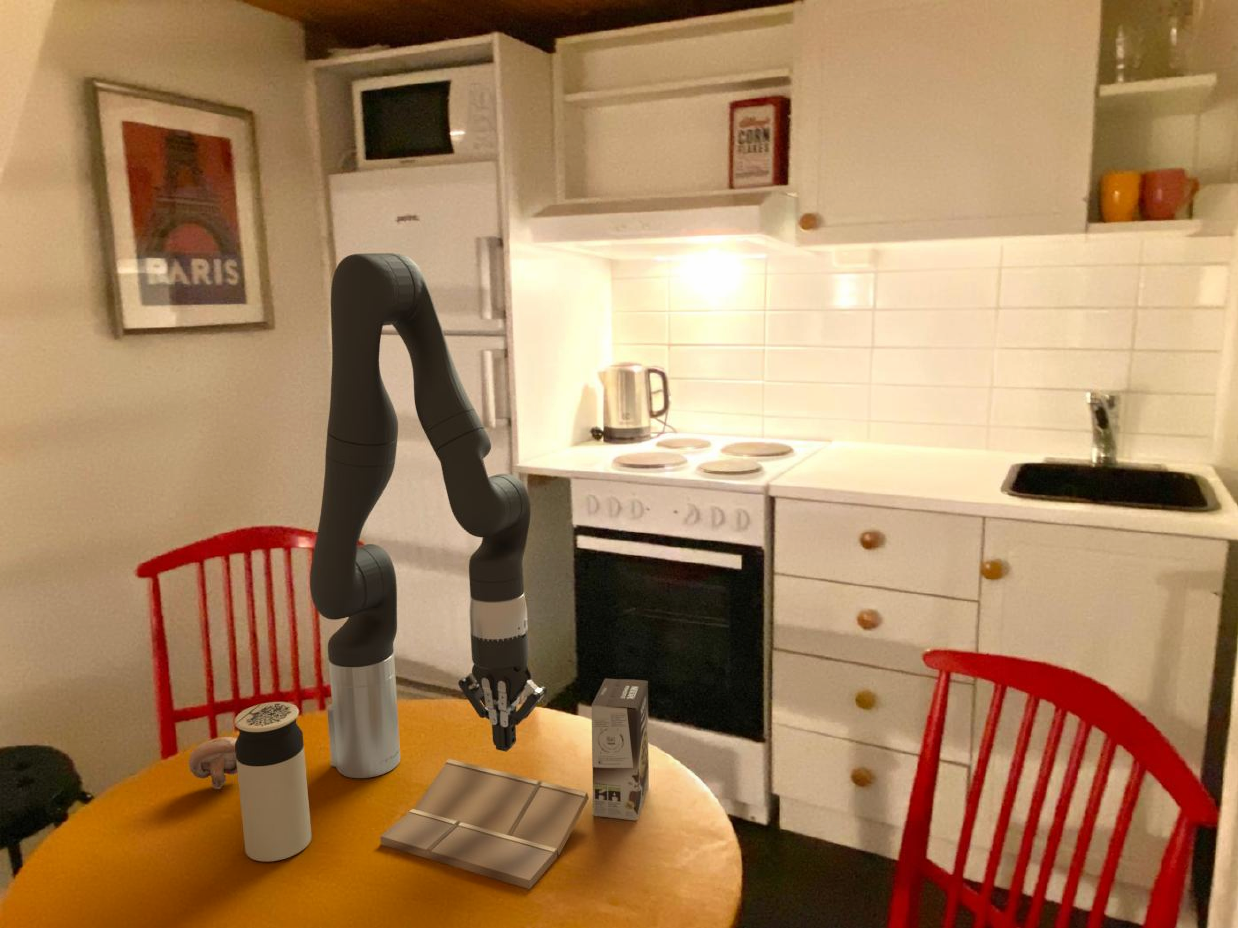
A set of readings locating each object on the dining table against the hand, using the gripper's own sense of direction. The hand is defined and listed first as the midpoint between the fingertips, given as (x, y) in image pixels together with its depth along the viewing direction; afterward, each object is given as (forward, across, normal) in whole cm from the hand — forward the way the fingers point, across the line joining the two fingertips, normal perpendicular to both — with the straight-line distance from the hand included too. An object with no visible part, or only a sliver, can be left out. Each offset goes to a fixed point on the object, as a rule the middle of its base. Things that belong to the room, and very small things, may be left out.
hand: (505, 747), depth 124 cm
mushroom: (+8, -40, -12) cm, 43 cm away
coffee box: (+9, +14, +8) cm, 18 cm away
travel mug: (+9, -22, -19) cm, 31 cm away
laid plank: (+9, +1, -11) cm, 14 cm away
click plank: (+7, +1, -3) cm, 8 cm away
